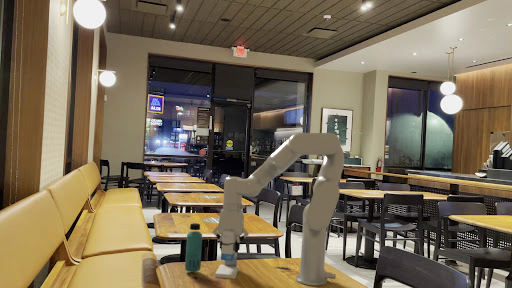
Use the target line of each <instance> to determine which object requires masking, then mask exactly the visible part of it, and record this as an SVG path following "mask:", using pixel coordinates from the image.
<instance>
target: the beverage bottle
mask: <svg viewBox="0 0 512 288" xmlns="http://www.w3.org/2000/svg"><path fill="white" fill-rule="evenodd" d="M189 230H191V231H189V232H188V233H187V234H186V248H185V250H186V251H185V252H186V253H185V264H184V269H185V271H186V272H195V273H196V272H199V271H200V270H201V265H202V264H201V263H202V249H203V248H202V247H203V234H202V233H201V232H200V231H199V230H201V224H200V223H190V226H189Z"/></svg>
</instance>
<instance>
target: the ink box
mask: <svg viewBox="0 0 512 288" xmlns="http://www.w3.org/2000/svg"><path fill="white" fill-rule="evenodd" d="M236 242H237V239H236V236H235V231H228V230H223V234H222V250H221V249H220V252H221V253H220V260H221V261H225V260H226V261H232V260H233V259H234V258H235V257H236V256H237V257H238V252H237V253H236V252H235V249H236Z"/></svg>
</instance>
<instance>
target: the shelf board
mask: <svg viewBox="0 0 512 288" xmlns="http://www.w3.org/2000/svg"><path fill="white" fill-rule="evenodd" d="M239 269H240V266H239V265H237V266H236V267H234V266H225V264H219V266H218V268H217V270H216V272H215V273H214V278H220V279H221V278H222V279H223V278H224V279H231V280H232V279H233V280H235V279H236V277H237V275H238V273H239Z"/></svg>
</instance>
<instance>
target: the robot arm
mask: <svg viewBox="0 0 512 288" xmlns="http://www.w3.org/2000/svg"><path fill="white" fill-rule="evenodd" d="M305 155H306V156H321V155H322V163H321V167H320V170H319V172H318V175H317V178H316V180H315V183H314V185H313V187H312V188H313V189H312V191H313V194H312V197H311V200H310V202H309V203H308V204H307V205H306V206H304V209H303V212H302V236H301V249H300V251H301V252H300V268H299V270H300V271H299V273H298V274H296V276H295V280H296V281H297V282H298V283H300V284H303V285H307V286H312V287H313V286H314V287H315V286H316V287H318V286H320V287H321V286H324V285H326V284H327V283H328V279H331V280H332V279H333V280H336V277H337V276H336V274H335V273H333V272H331V271H325V270H326V269H325V260H326V259H325V258H326V257H325V256H326V244H327V243H326V242H327V228H328V226H329V224H330V222H331V220H332V218H333V215H334V214H335V210H336V207H337V204H338V203H339V202H338V201H339V198H340V195H341V194H340V187H339V182H340V179H341V176H342V173H343V170H344V166H345V153H344V150H343V148H342V146H341V141H340V138H339V136H338V135H336V134H335V133H334V132H333V133H332V132H296V133H294V134H292V135H291V136H290V137H289V138H288V139H287V140H286V141H284V142H283V143H282V144H281V145H280V146H279V147H278V148H277V149H276V150H275V151H274V152H272V153H271V155H269V156H268V157H267V159H266V160H265V161H264V162H263V163H262V165H260V166H259V167H258V168H257V169H256V170H255V171H254V172H253V173H252V174H251V175H250V176H249V177H248V178H242V177H239V176H227V177H225V178H224V183H223V184H224V185H223V200H222V201H223V202H222V208H221V210H220V214H219V218H218V219H219V220H218V225H217V226H216V227H215V228H214V229H213V230H212V234H213V235H214V236H215V237H216V238H217V239H218V241H219V250H220V251H221V250H222V234H223V230H228V231H235V236H236V239H237V242H236V249H235V252H236V253H237V254H238V251H240V247H241V242H242V241H244V239H246V238H247V237H248V236H249V235H250V233H249V232H248V231H247V229H246V227H244V223H245V221H244V220H245V219H244V218H245V217H244V216H245V215H244V210H242V209H245V208H246V205H245V204H243V203H242V200H243V197H248V198H255V197H257V196H258V195H259V194H260V193H261V191H262V189H264V187H266V186H267V185H268V184H269V183H270V182H271V181H272V180H273V179H275V178H276V177H277V176H279V175H281V174H283V173H284V172H285V171H287V169H288V168H290V167H291V166H292V165H293V164H294V163H295V162H296V161H297V160H298V159H299V158H300V157H301V156H305Z"/></svg>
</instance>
